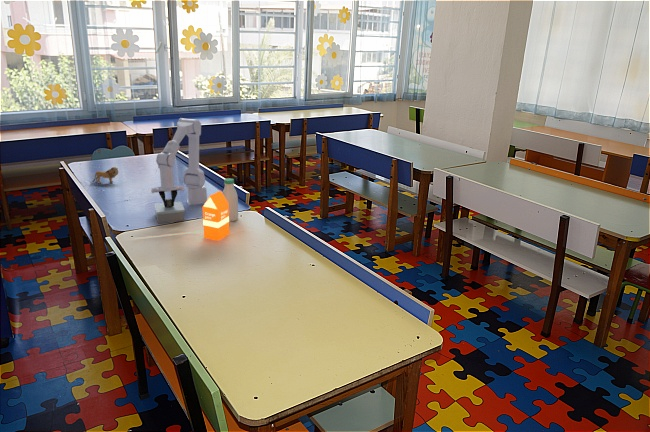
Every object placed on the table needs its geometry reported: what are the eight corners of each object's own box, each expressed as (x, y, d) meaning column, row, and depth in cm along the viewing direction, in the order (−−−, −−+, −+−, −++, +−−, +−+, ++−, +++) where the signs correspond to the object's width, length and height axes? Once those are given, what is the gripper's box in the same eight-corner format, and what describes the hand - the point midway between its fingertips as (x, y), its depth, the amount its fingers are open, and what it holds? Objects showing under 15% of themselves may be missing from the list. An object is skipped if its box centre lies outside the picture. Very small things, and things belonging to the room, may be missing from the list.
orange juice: (203, 237, 220) (201, 194, 213) (215, 230, 228) (213, 188, 221) (219, 241, 218) (217, 197, 210) (229, 233, 225) (228, 191, 218)
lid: (181, 204, 246) (180, 194, 244) (184, 213, 235) (184, 202, 233) (154, 207, 241) (153, 196, 239) (156, 216, 230) (155, 205, 228)
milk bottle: (241, 219, 242) (240, 179, 235) (228, 223, 237) (227, 182, 230) (231, 215, 247) (230, 176, 240) (218, 218, 242) (217, 179, 234)
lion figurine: (120, 180, 291) (118, 165, 288) (118, 183, 286) (117, 168, 283) (93, 181, 288) (91, 166, 284) (91, 184, 283) (89, 168, 280)
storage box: (181, 212, 247) (180, 203, 245) (184, 221, 237) (184, 211, 235) (155, 215, 242) (154, 205, 241) (158, 224, 232) (157, 214, 230)
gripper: (151, 182, 226) (153, 210, 231) (184, 179, 232) (186, 207, 236) (149, 177, 232) (152, 205, 237) (182, 175, 238) (183, 202, 243)
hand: (169, 205), depth 237 cm, fingers closed on lid, 3 cm apart
